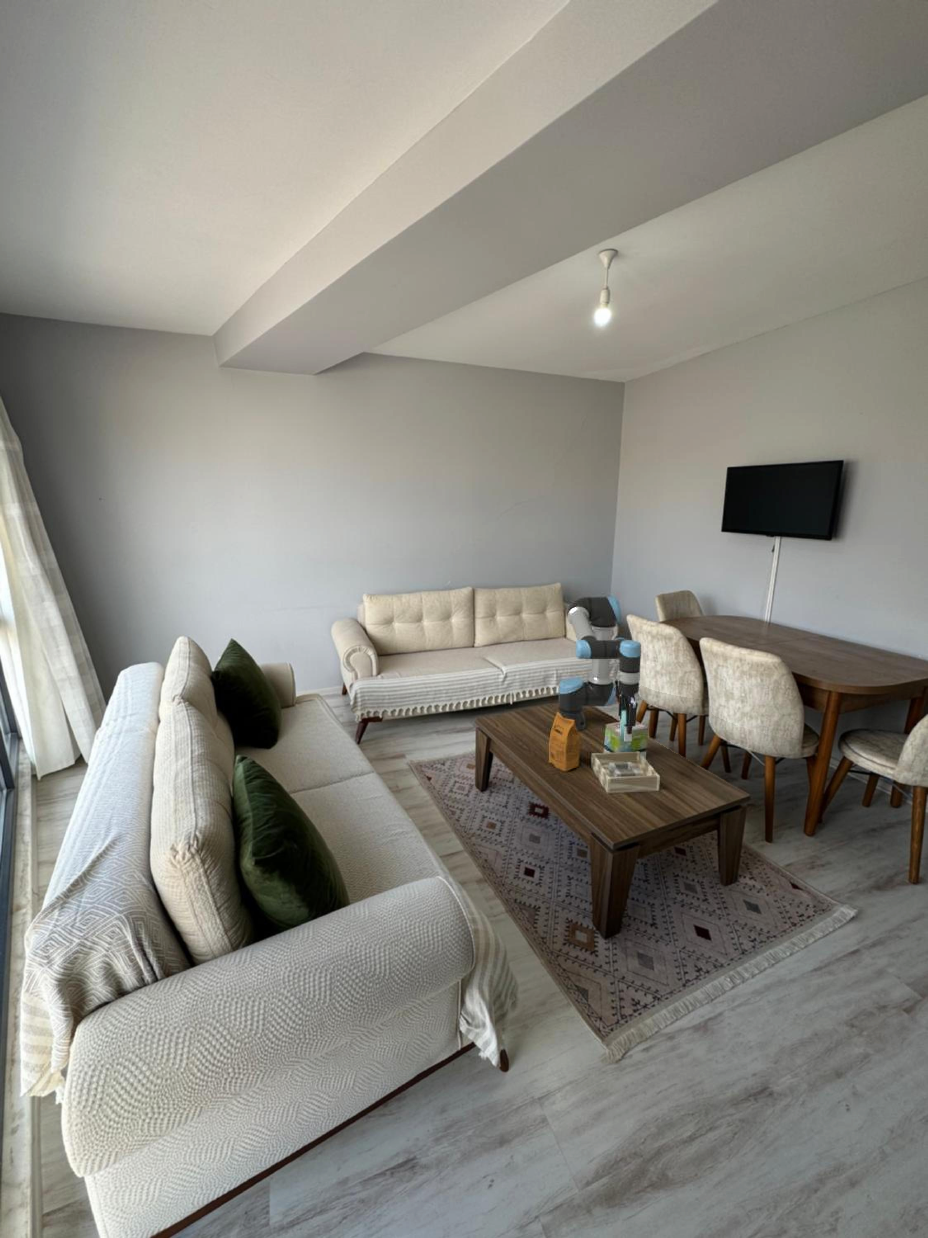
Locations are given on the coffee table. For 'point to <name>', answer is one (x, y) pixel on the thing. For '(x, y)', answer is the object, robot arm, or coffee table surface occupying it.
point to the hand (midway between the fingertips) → (625, 738)
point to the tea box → (635, 745)
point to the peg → (623, 727)
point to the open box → (624, 772)
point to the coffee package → (564, 744)
